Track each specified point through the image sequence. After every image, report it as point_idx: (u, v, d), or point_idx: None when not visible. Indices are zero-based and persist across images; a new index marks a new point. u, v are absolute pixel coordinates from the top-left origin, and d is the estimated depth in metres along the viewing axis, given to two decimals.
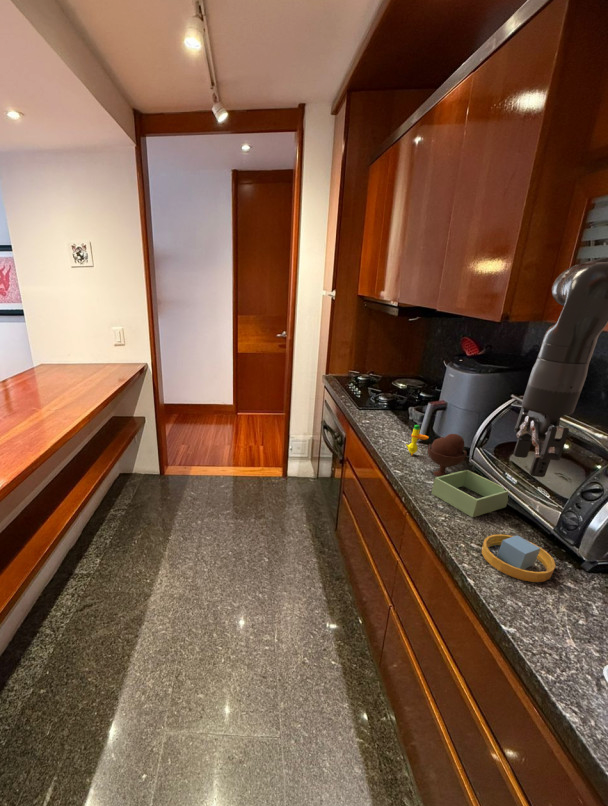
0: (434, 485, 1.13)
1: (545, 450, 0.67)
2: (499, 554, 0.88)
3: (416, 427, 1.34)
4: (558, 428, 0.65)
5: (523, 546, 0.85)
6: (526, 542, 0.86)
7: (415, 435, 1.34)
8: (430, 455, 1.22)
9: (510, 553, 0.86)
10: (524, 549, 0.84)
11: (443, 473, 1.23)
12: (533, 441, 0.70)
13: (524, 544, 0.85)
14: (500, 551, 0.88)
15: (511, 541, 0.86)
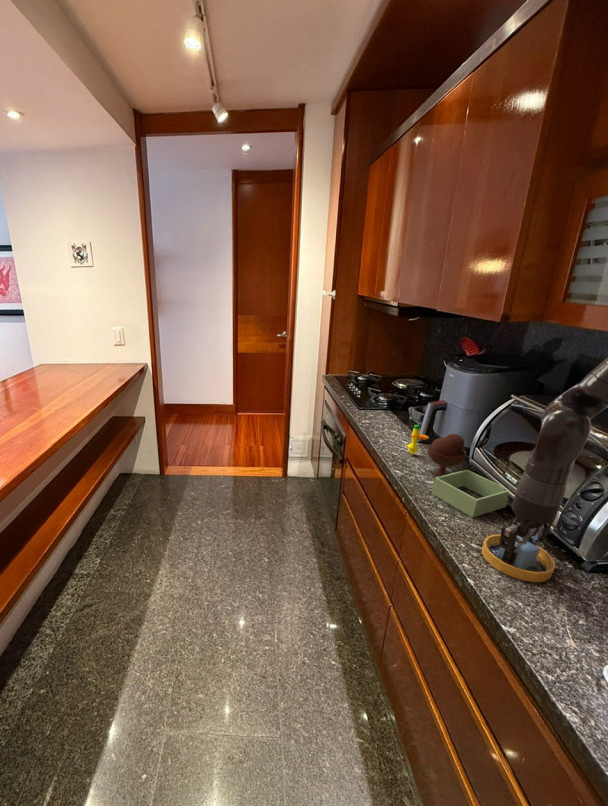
0: (434, 485, 1.13)
1: None
2: (499, 554, 0.88)
3: (416, 427, 1.34)
4: (507, 529, 0.81)
5: (523, 546, 0.85)
6: None
7: (415, 435, 1.34)
8: (430, 455, 1.22)
9: None
10: (524, 549, 0.84)
11: (443, 473, 1.23)
12: None
13: None
14: (500, 551, 0.88)
15: None
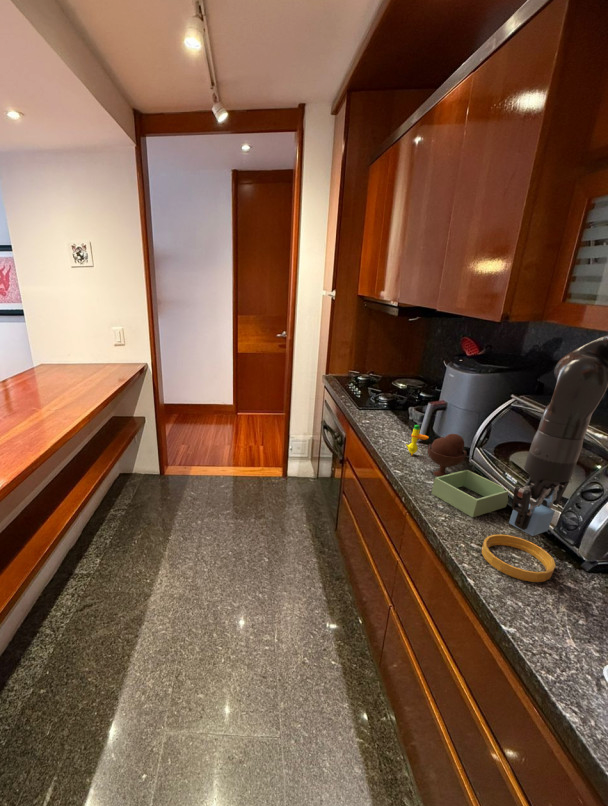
0: (434, 485, 1.13)
1: None
2: (511, 519, 0.84)
3: (416, 427, 1.34)
4: (520, 489, 0.78)
5: (536, 509, 0.81)
6: (540, 505, 0.82)
7: (415, 435, 1.34)
8: (430, 455, 1.22)
9: None
10: (538, 512, 0.80)
11: (443, 473, 1.23)
12: None
13: (538, 507, 0.82)
14: (512, 516, 0.84)
15: None
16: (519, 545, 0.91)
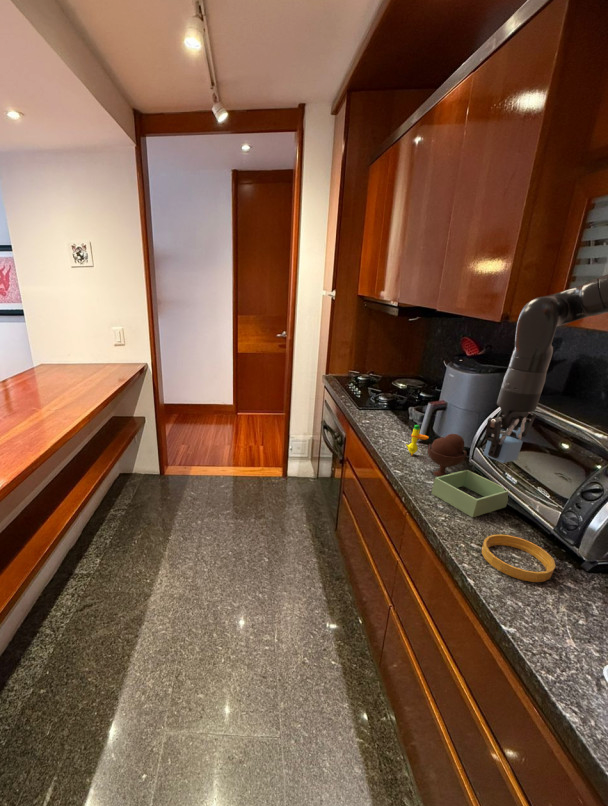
0: (434, 485, 1.13)
1: (486, 434, 0.91)
2: (485, 450, 0.95)
3: (416, 427, 1.34)
4: (492, 420, 0.89)
5: (507, 440, 0.92)
6: (510, 437, 0.94)
7: (415, 435, 1.34)
8: (430, 455, 1.22)
9: None
10: (508, 441, 0.91)
11: (443, 473, 1.23)
12: None
13: (508, 438, 0.93)
14: (486, 447, 0.95)
15: None
16: (519, 545, 0.91)
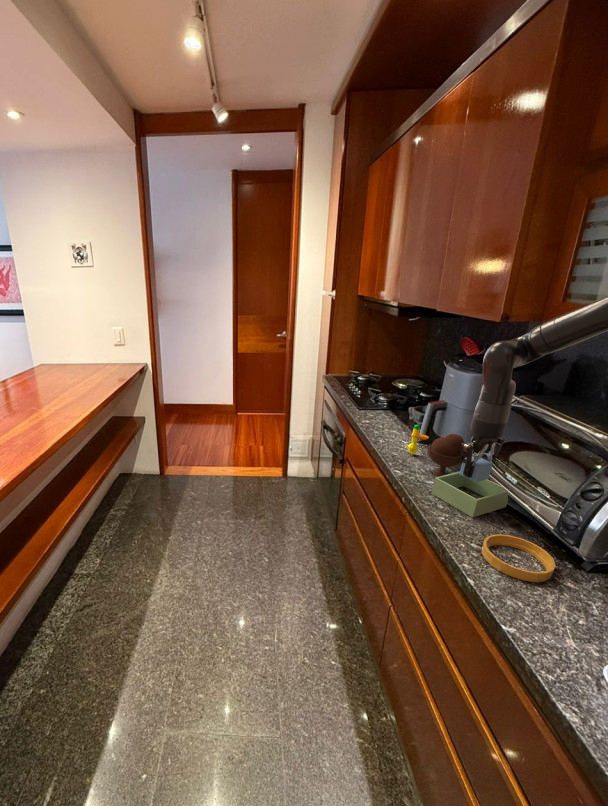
0: (434, 485, 1.13)
1: (460, 457, 1.04)
2: (461, 470, 1.08)
3: (416, 427, 1.34)
4: (465, 445, 1.02)
5: (479, 461, 1.05)
6: (482, 459, 1.06)
7: (415, 435, 1.34)
8: (430, 455, 1.22)
9: None
10: (480, 463, 1.04)
11: (443, 473, 1.23)
12: None
13: (480, 460, 1.06)
14: (462, 468, 1.08)
15: None
16: (519, 545, 0.91)
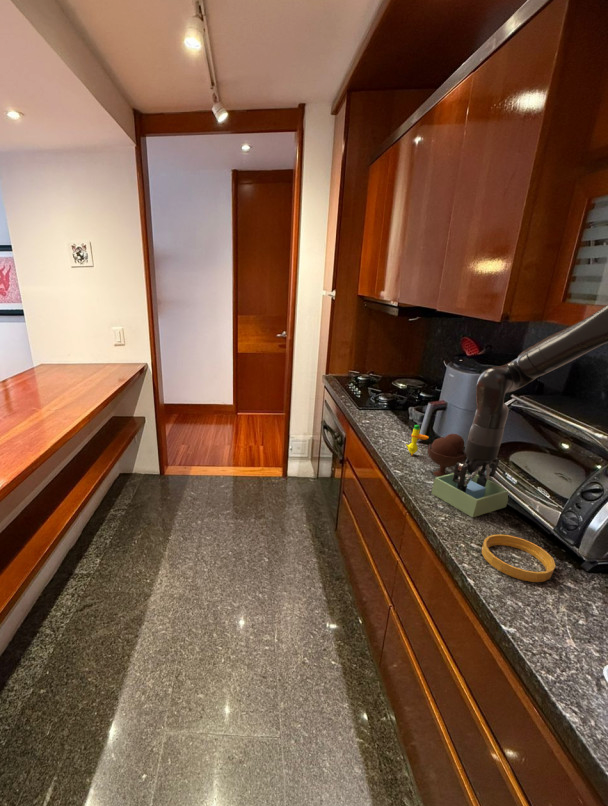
0: (434, 485, 1.13)
1: None
2: None
3: (416, 427, 1.34)
4: (460, 464, 1.04)
5: (472, 486, 1.08)
6: (475, 484, 1.09)
7: (415, 435, 1.34)
8: (430, 455, 1.22)
9: None
10: (473, 488, 1.07)
11: (443, 473, 1.23)
12: None
13: (473, 485, 1.09)
14: None
15: None
16: (519, 545, 0.91)
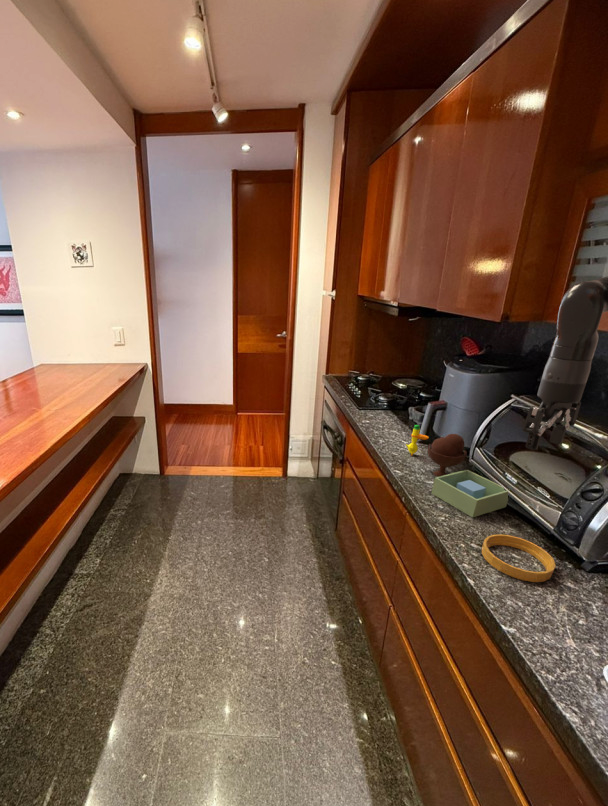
0: (434, 485, 1.13)
1: (524, 424, 0.87)
2: None
3: (416, 427, 1.34)
4: (535, 407, 0.85)
5: (472, 486, 1.08)
6: (475, 484, 1.09)
7: (415, 435, 1.34)
8: (430, 455, 1.22)
9: None
10: (473, 488, 1.07)
11: (443, 473, 1.23)
12: None
13: (473, 485, 1.09)
14: None
15: (464, 483, 1.10)
16: (519, 545, 0.91)
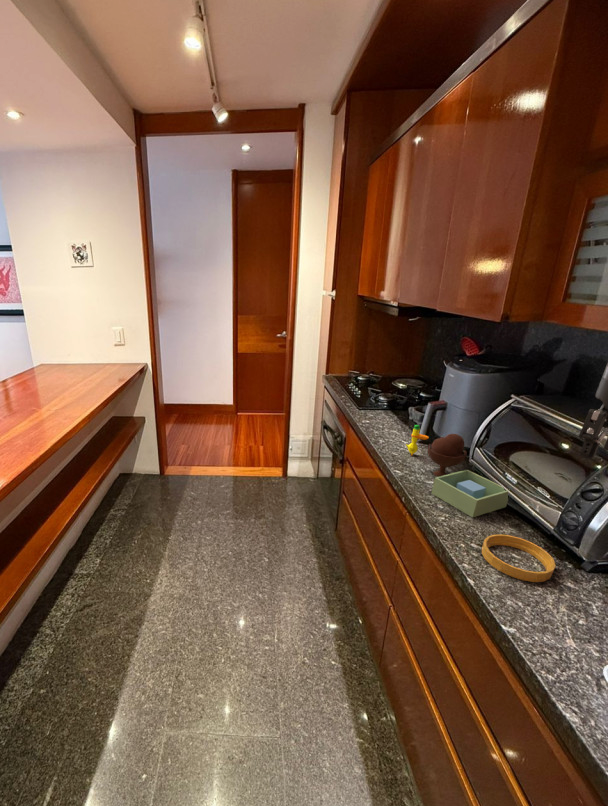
0: (434, 485, 1.13)
1: (581, 429, 0.76)
2: None
3: (416, 427, 1.34)
4: (596, 411, 0.74)
5: (472, 486, 1.08)
6: (475, 484, 1.09)
7: (415, 435, 1.34)
8: (430, 455, 1.22)
9: None
10: (473, 488, 1.07)
11: (443, 473, 1.23)
12: None
13: (473, 485, 1.09)
14: None
15: (464, 483, 1.10)
16: (519, 545, 0.91)
